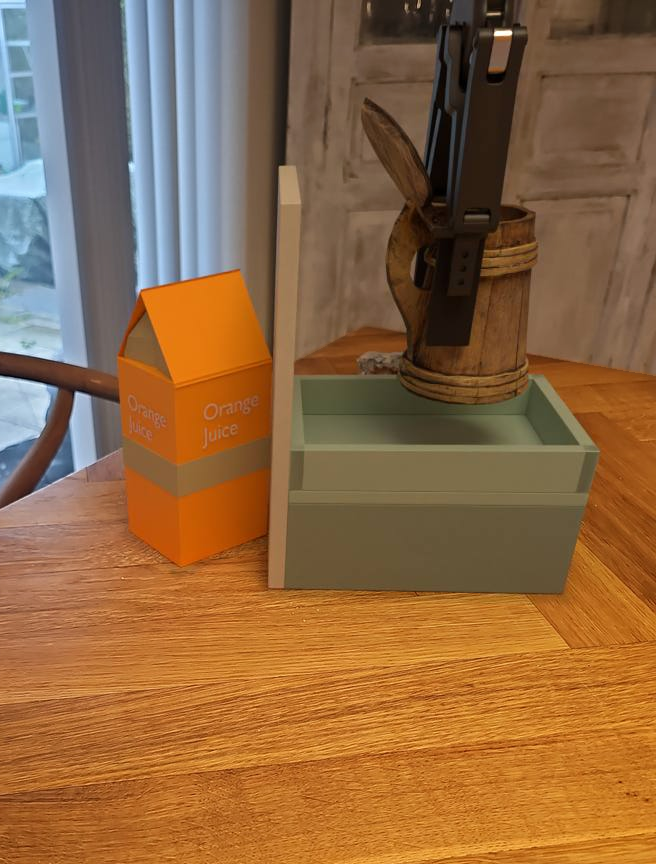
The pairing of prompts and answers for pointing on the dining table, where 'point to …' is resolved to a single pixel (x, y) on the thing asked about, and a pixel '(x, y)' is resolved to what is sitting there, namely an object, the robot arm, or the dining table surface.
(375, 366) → the grey rock
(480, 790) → the dining table surface
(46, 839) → the dining table surface
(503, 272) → the wooden mug
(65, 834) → the dining table surface
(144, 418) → the orange juice
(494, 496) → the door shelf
